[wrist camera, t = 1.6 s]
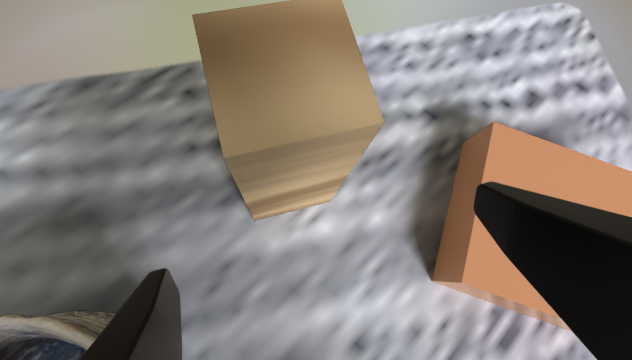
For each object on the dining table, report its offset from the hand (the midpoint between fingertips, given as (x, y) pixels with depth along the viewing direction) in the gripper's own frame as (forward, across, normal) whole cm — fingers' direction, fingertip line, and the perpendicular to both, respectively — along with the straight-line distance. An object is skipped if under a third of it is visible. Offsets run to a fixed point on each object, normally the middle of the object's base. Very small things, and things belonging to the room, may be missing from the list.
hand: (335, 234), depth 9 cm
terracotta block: (+7, -14, +10) cm, 19 cm away
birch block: (+12, 0, +5) cm, 13 cm away
